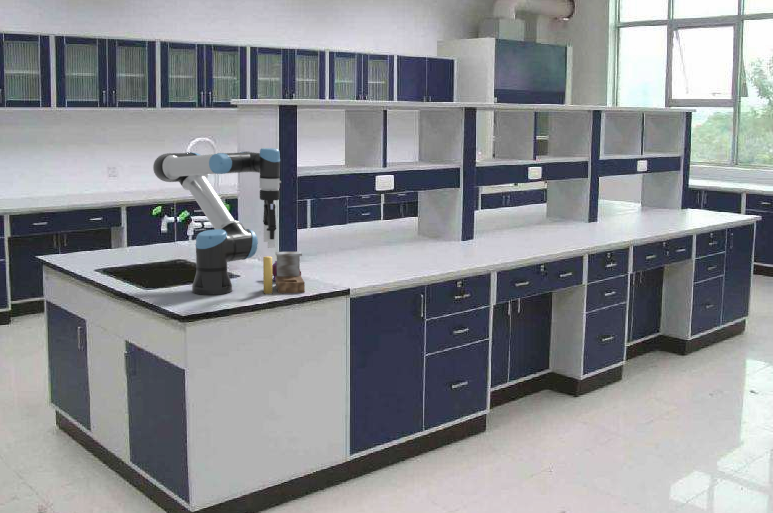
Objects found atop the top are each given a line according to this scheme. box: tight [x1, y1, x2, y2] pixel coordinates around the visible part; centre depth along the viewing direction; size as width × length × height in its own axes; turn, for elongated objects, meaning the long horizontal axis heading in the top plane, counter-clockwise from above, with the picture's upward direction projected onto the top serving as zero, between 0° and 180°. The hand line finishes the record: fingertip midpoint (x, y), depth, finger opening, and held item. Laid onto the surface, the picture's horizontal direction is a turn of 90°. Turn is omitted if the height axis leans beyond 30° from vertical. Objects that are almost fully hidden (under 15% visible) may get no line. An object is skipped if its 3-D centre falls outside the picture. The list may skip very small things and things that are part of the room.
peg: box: [262, 256, 273, 295], centre depth 323 cm, size 3×3×14 cm
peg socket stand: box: [274, 251, 306, 294], centre depth 330 cm, size 10×14×14 cm
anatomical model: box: [272, 260, 302, 281], centre depth 349 cm, size 12×10×15 cm
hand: (269, 244), depth 322 cm, fingers open, 13 cm apart
